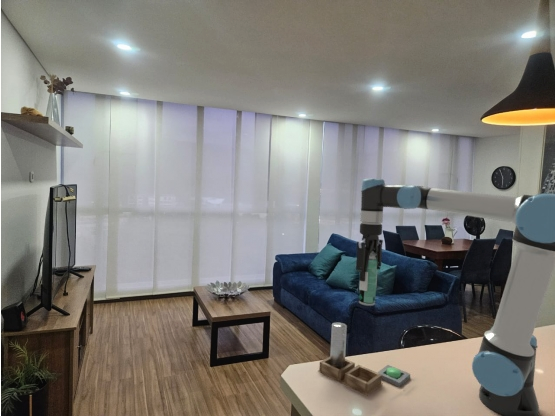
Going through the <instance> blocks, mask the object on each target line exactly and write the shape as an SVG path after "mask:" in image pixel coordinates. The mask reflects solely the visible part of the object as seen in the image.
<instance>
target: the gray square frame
mask: <svg viewBox="0 0 555 416" xmlns="http://www.w3.org/2000/svg"><path fill="white" fill-rule="evenodd" d="M390 367H392V368H396V367H394V366H392V365H390V364H387V365H386V366H384V367H383V368H382V369H380V370H379V371H377V373H379V374H381V375H382V381H385V382H387V383H389V384H392V385H394V386H396V387H398V388H400V387H402V385H404V384H405V383H406V382H407V381H409V379H410V378H411V373H410V372H407V371H403V370H401V369H399V368H396V369H398V370H400V372H401V375H400V378H399V379H395V378H393V377H391V376H388V375H386V374H387V368H390Z"/></svg>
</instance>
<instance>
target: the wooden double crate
mask: <svg viewBox="0 0 555 416" xmlns="http://www.w3.org/2000/svg"><path fill="white" fill-rule="evenodd" d="M355 365H356V362H353V361H350V360H349V359H347V358H345V367H343V368H342V369H338V368H335V367H333V366H331V365H330V356H328V357H326V358H324V359H323V360H321V361H319V370H317V372H319V373H321V374H322V375H325V376H326V377H329V378H330V379H332V380H335V381H337V382H338V383H341V384H342V385H345V386H347V387H349V388H350V389H353V390H355V391H357V392H358V393H361V394H363V395H364V396H369V395H370V394H372V393H373V392H374V391H376V389H378V388H380V387H381V386H382V385H383V384H384V383H383V382H382V381H383V380H382V375H381V374H379V373H377V372H378V371H377V372H376V371H374V370H371V369H369V368H367V367H366V366H363V365H360V364H357V365H356V366H355Z"/></svg>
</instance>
